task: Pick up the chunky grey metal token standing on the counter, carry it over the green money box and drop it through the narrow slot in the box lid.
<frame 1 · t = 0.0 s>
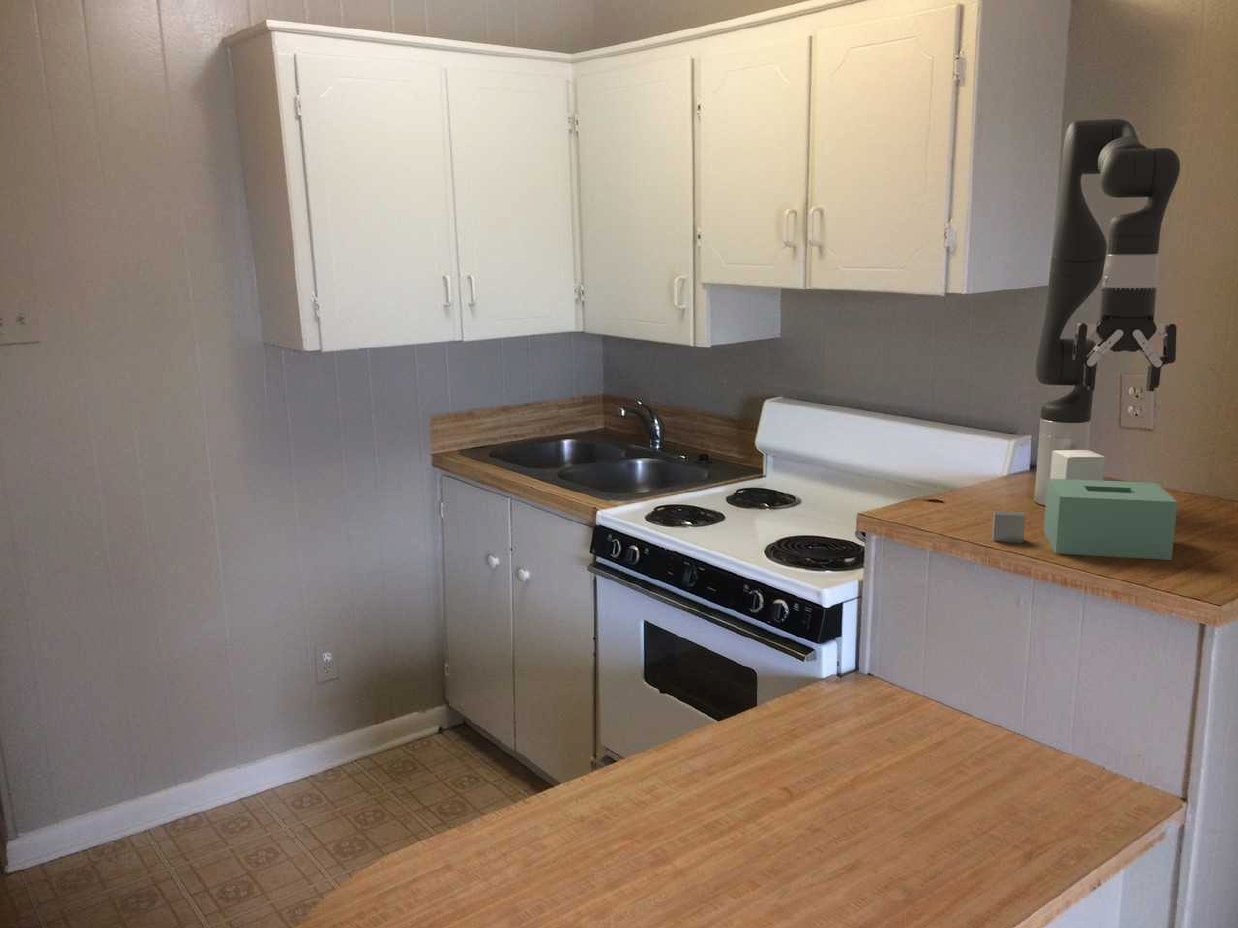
hand: (1119, 390, 160), 29 cm above the worktop, tool pointing down, fingers open, 8 cm apart
supplement box: (1073, 518, 199), on the worktop
token: (1007, 540, 184), on the worktop
money box: (1104, 545, 180), on the worktop
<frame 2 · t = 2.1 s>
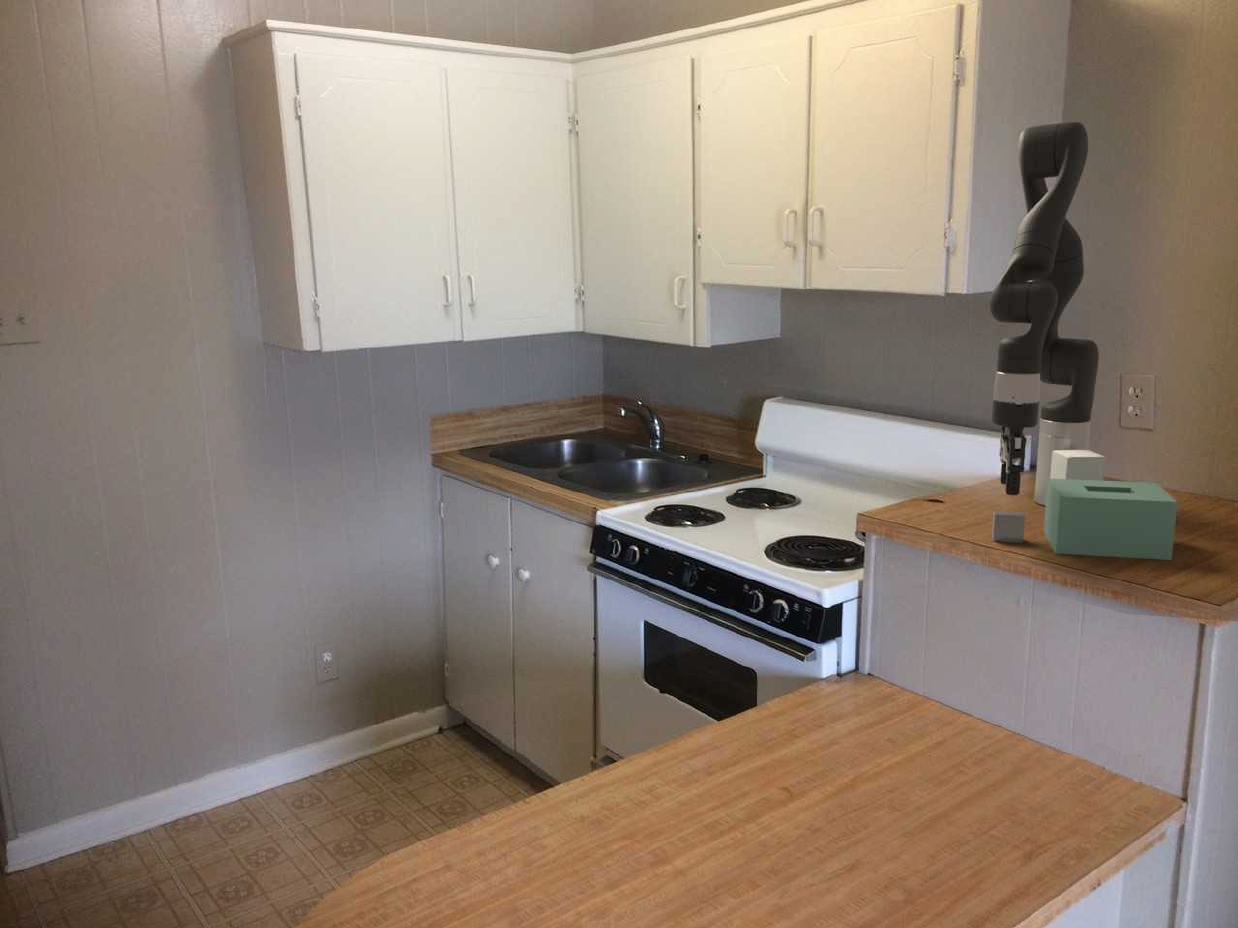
hand: (1009, 489, 182), 9 cm above the worktop, tool pointing down, fingers open, 8 cm apart
nothing on the worktop moved.
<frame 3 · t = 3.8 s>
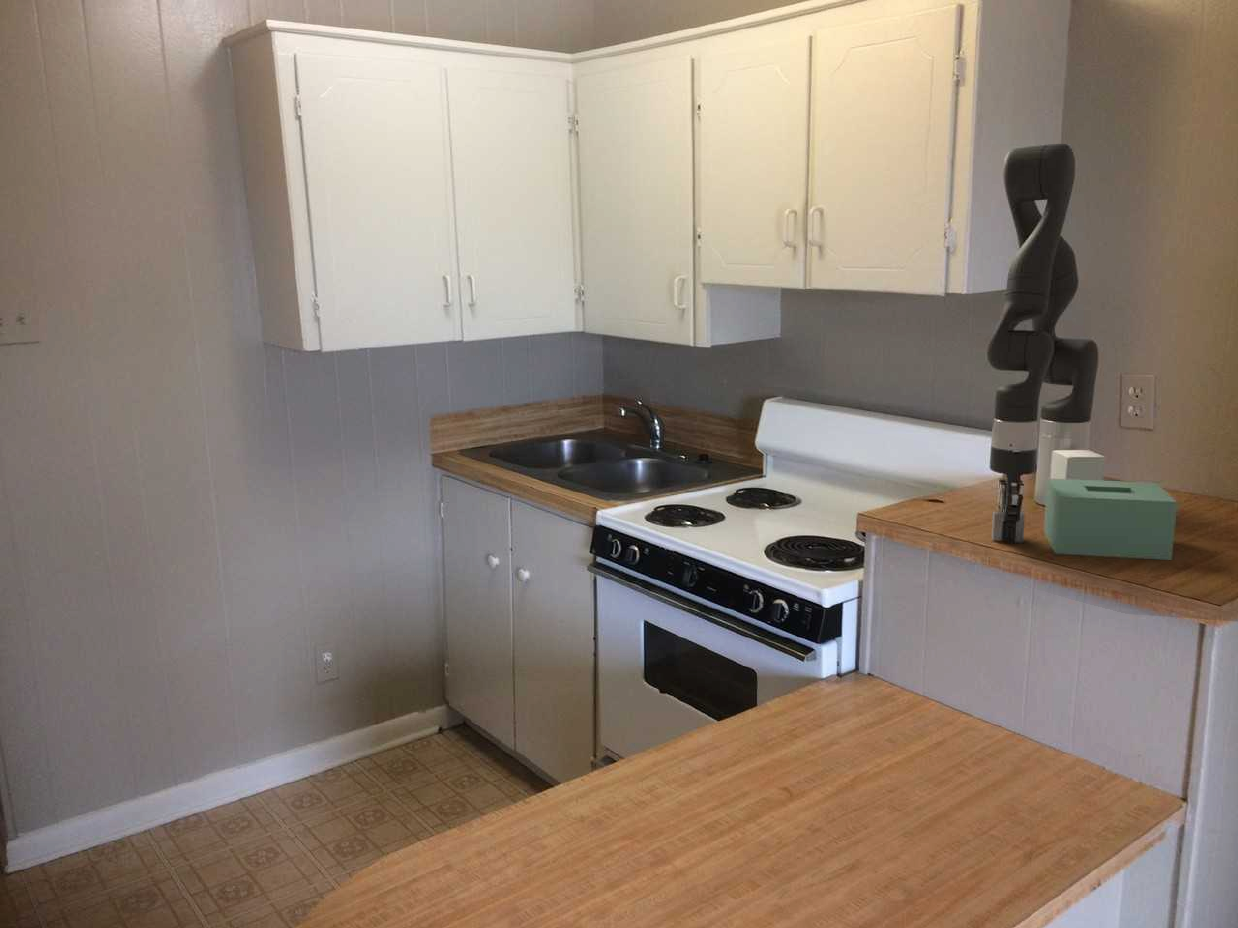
hand: (1007, 539, 184), 0 cm above the worktop, tool pointing down, fingers closed on token, 2 cm apart
token: (1007, 539, 184), on the worktop, touching gripper
everything else where it was.
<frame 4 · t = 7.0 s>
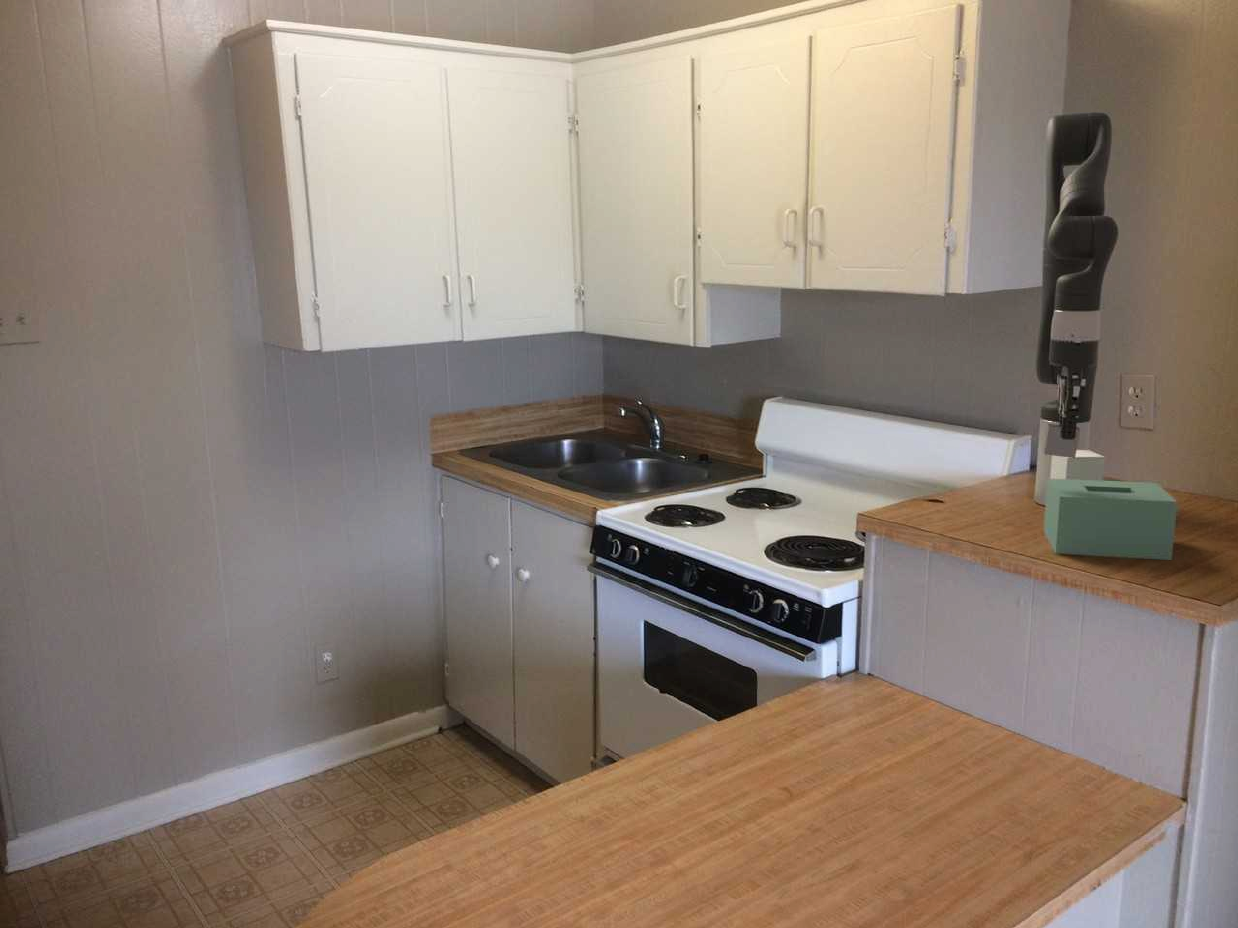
hand: (1066, 437, 178), 19 cm above the worktop, tool pointing down, fingers closed on token, 2 cm apart
token: (1058, 454, 179), point 16 cm above the worktop, tilted 5°, touching gripper
everything else where it was.
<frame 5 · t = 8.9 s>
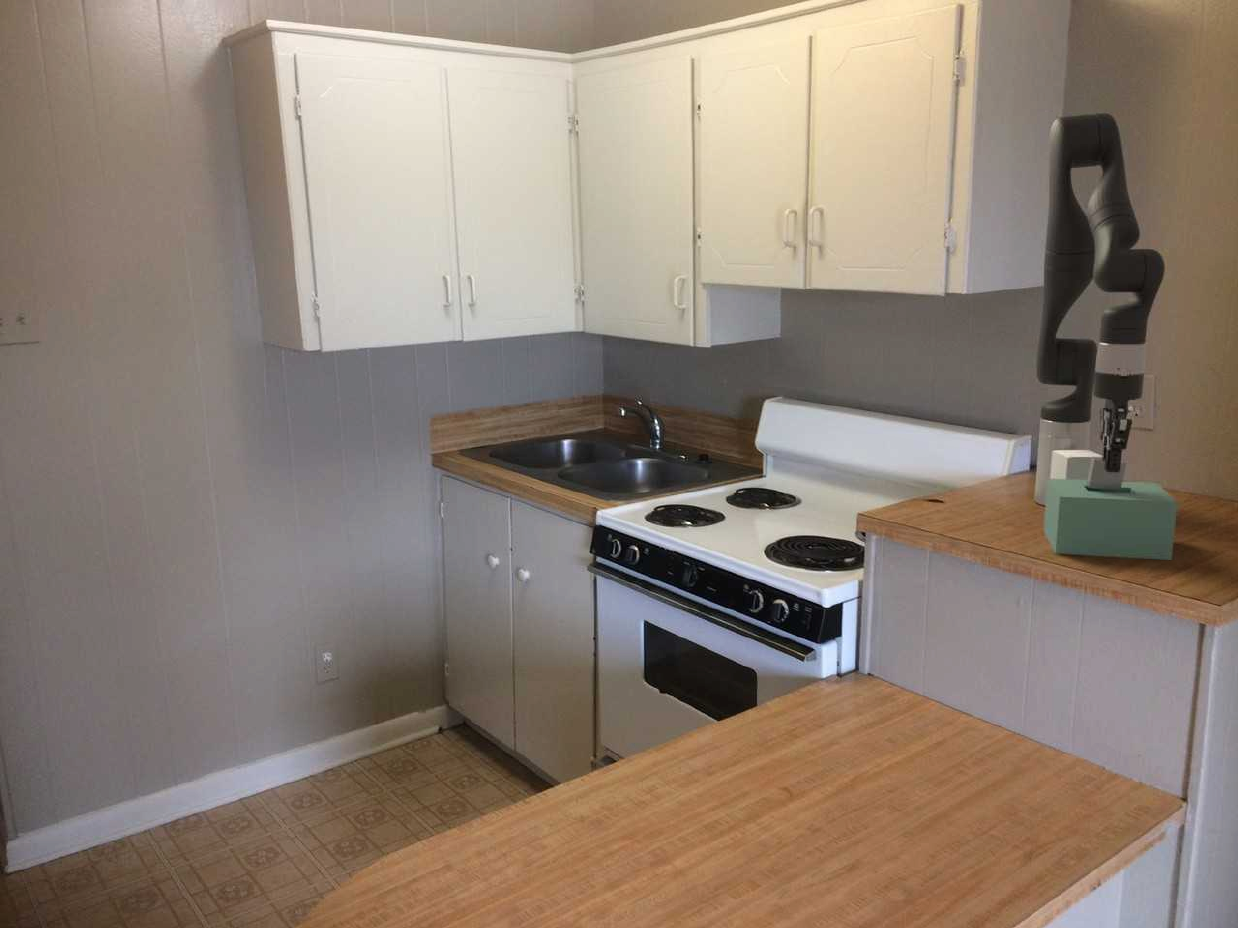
hand: (1110, 469, 177), 14 cm above the worktop, tool pointing down, fingers closed on token, 2 cm apart
token: (1103, 488, 178), point 10 cm above the worktop, tilted 6°, touching gripper
everything else where it was.
when the fingers open (12 cm above the worktop, at t = 10.3 s): token drops 7 cm, resting on money box.
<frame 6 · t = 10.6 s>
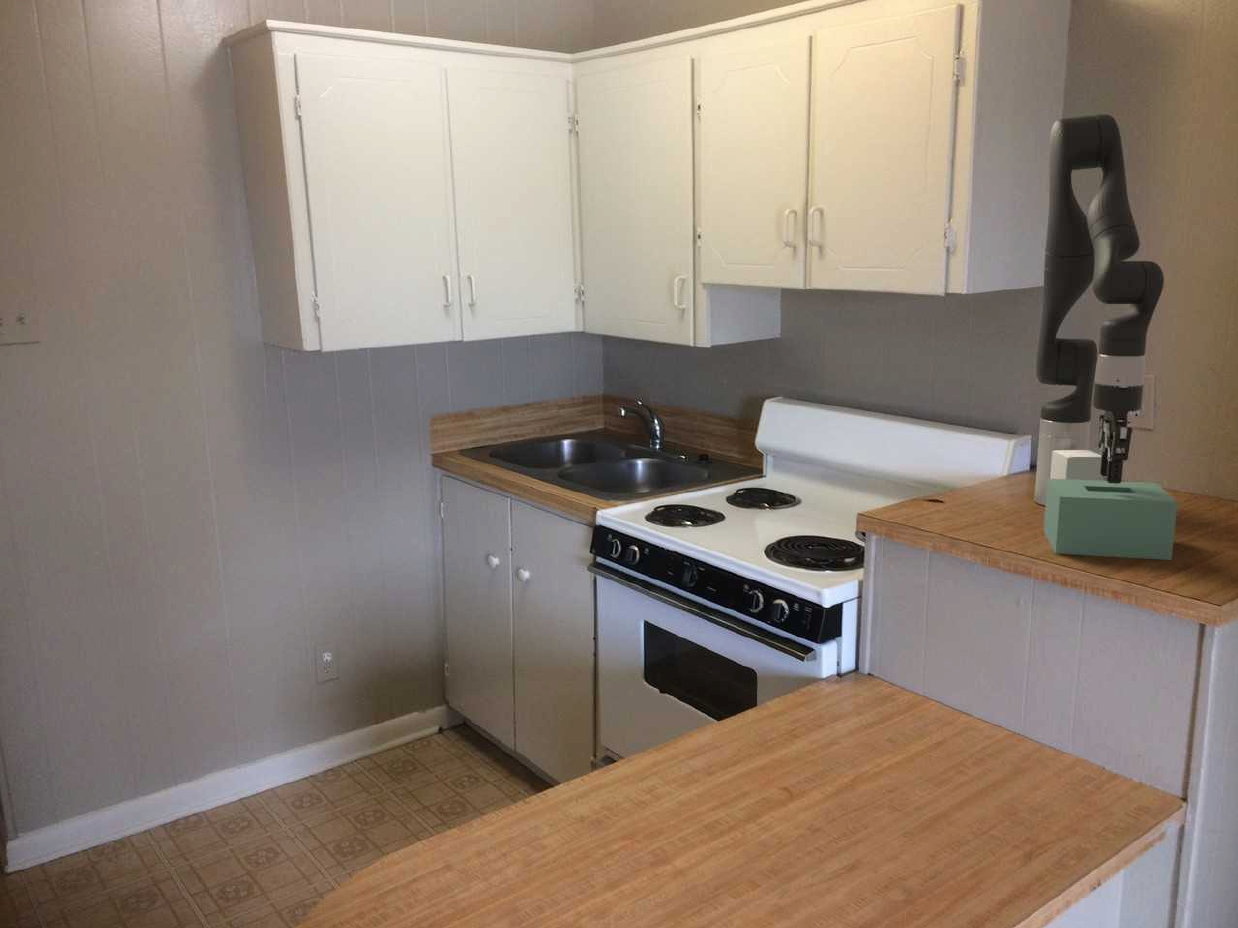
hand: (1110, 478, 178), 12 cm above the worktop, tool pointing down, fingers open, 5 cm apart
token: (1099, 539, 180), point 1 cm above the worktop, touching money box
everything else where it was.
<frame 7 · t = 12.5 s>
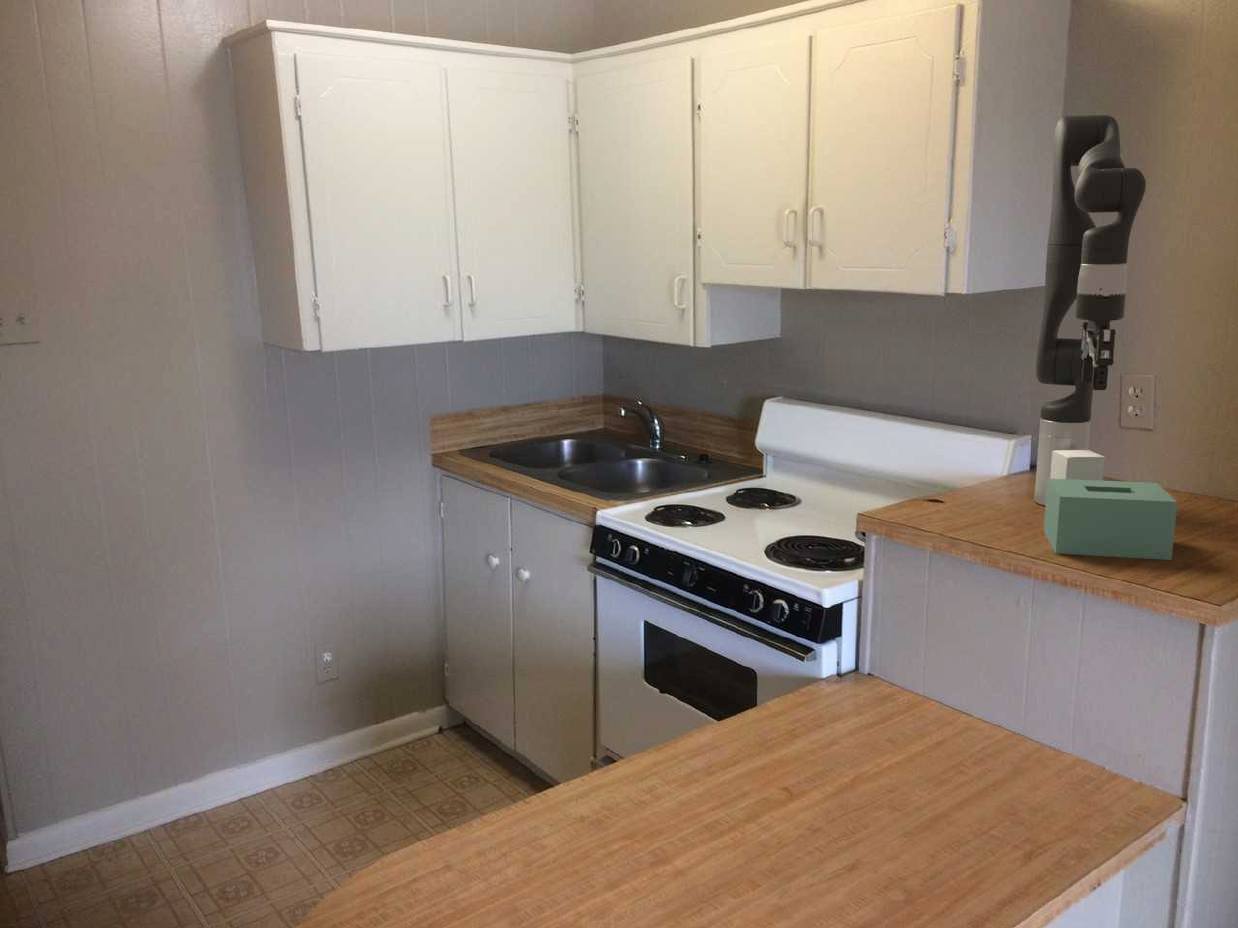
hand: (1093, 385, 178), 28 cm above the worktop, tool pointing down, fingers open, 8 cm apart
nothing on the worktop moved.
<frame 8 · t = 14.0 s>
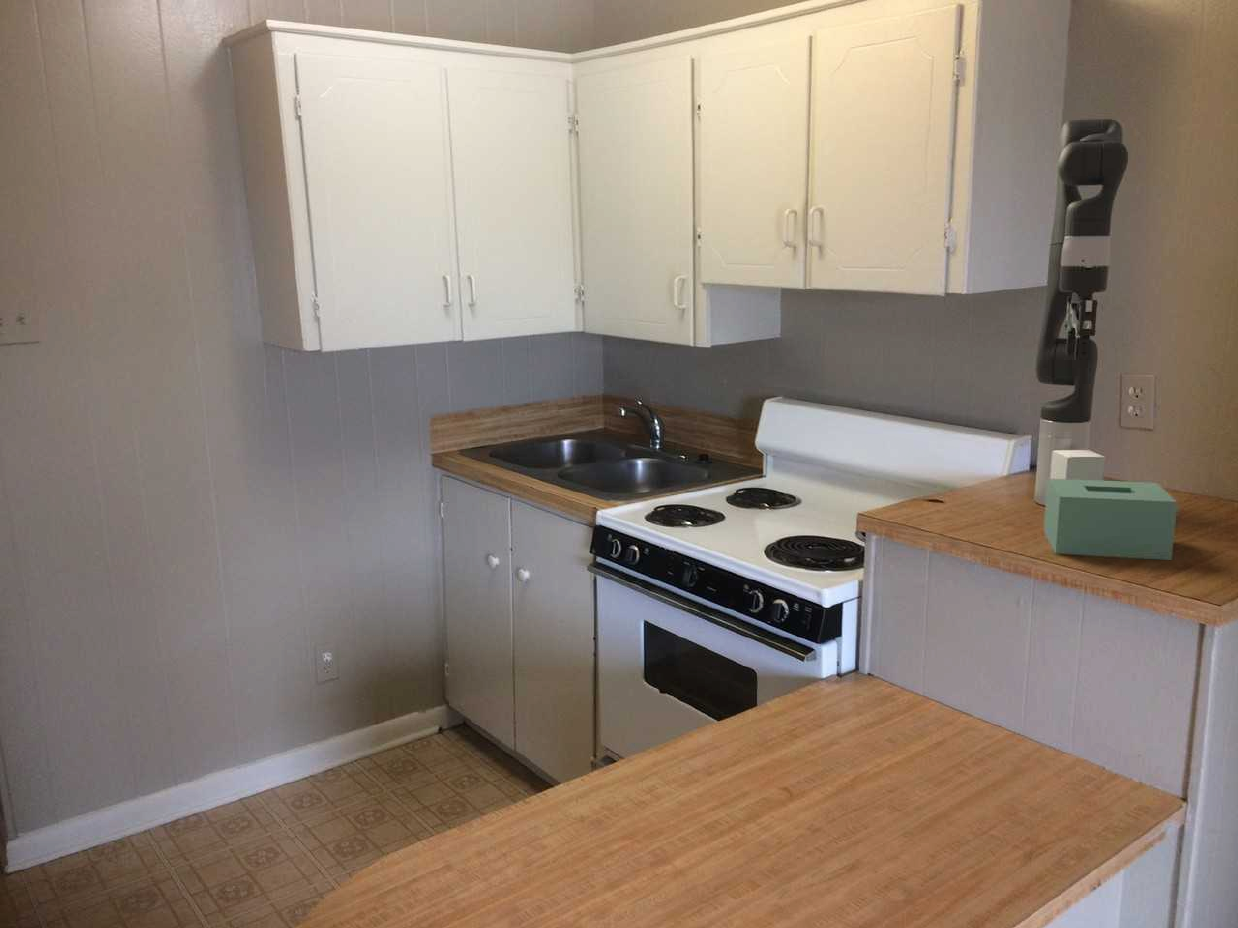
hand: (1077, 358, 179), 32 cm above the worktop, tool pointing down, fingers open, 8 cm apart
nothing on the worktop moved.
at the end: token inside the target area on the money box (0.8 cm from its centre), point 1.0 cm above the money box's base; the gripper is holding nothing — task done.
